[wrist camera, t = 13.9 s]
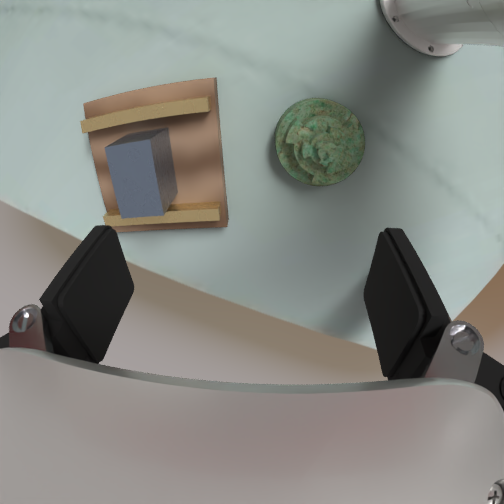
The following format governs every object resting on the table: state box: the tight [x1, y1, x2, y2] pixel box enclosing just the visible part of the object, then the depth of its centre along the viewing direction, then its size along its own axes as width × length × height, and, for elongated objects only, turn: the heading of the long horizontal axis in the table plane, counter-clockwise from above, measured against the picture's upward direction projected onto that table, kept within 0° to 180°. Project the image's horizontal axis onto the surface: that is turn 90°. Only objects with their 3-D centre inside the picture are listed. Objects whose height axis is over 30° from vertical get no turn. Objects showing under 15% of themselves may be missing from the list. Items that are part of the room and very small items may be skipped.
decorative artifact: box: [275, 98, 365, 186], centre depth 29 cm, size 10×7×10 cm
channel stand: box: [80, 78, 229, 232], centre depth 32 cm, size 18×16×4 cm
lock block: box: [105, 127, 178, 219], centre depth 29 cm, size 8×5×6 cm, turn 3°
